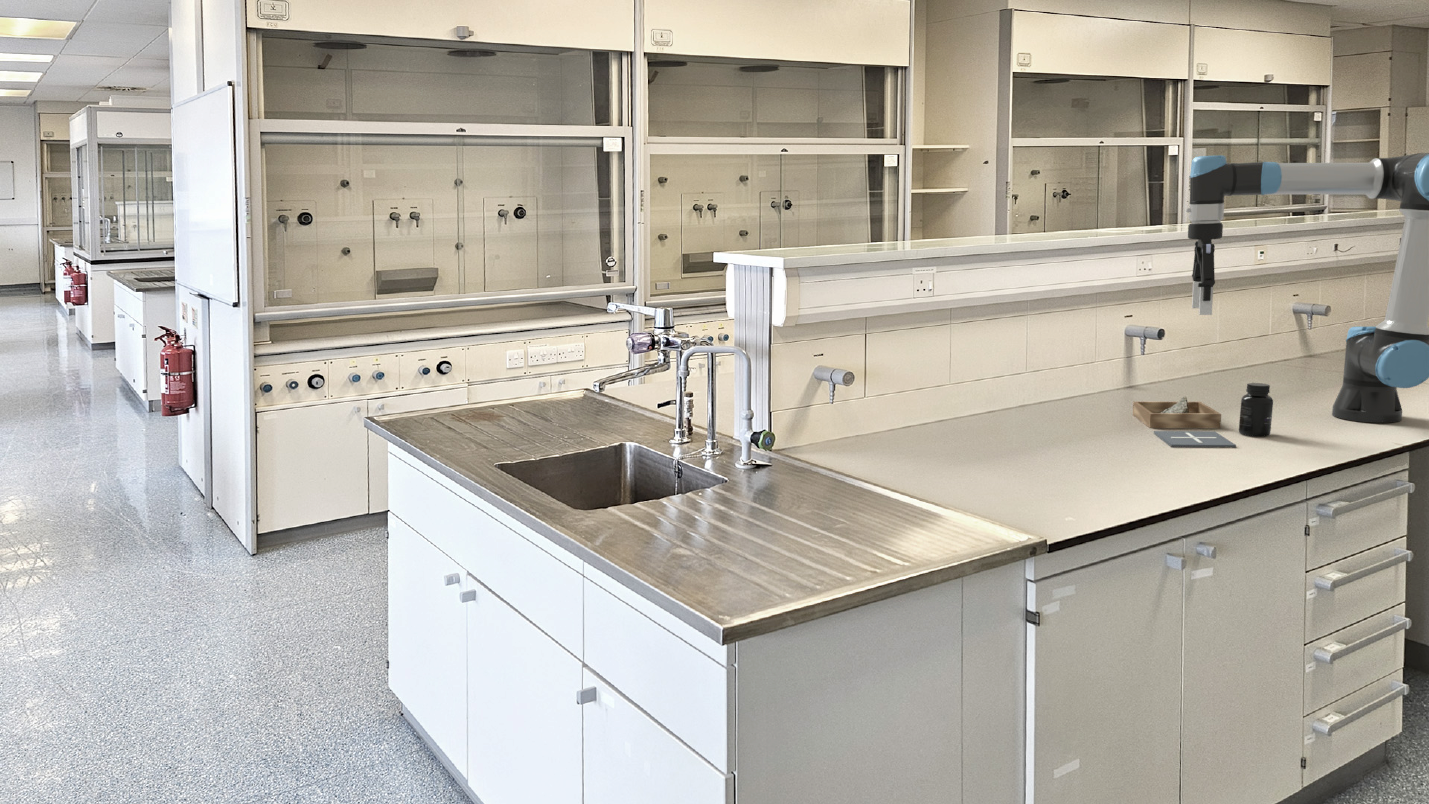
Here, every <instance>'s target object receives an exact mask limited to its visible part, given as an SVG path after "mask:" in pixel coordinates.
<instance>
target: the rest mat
mask: <svg viewBox="0 0 1429 804" xmlns="http://www.w3.org/2000/svg"><path fill="white" fill-rule="evenodd" d="M1153 434H1154V435H1155V436H1156V437H1157V438H1159V439H1160V440H1162V442H1164V443H1165V444H1166V445H1168V446H1169V447H1170V448H1217V447H1223V448H1224V449H1225V447H1229V448H1230V447H1232V449H1234V448H1235V449H1236V448H1237V444H1236V443H1233V442H1232V441H1231V440H1229V439H1227V438H1226V437H1224V436H1223V435H1221V434H1220V433H1218V432H1217V431H1210V430H1209V431H1207V430H1206V431H1202V430H1199V431H1195V430H1194V431H1192V430H1191V431H1189V430H1186V431H1185V430H1184V431H1183V430H1176V431H1175V430H1168V431H1167V430H1160V431H1159V430H1154V431H1153ZM1223 448H1222V449H1223ZM1229 448H1228V449H1229Z"/></svg>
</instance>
